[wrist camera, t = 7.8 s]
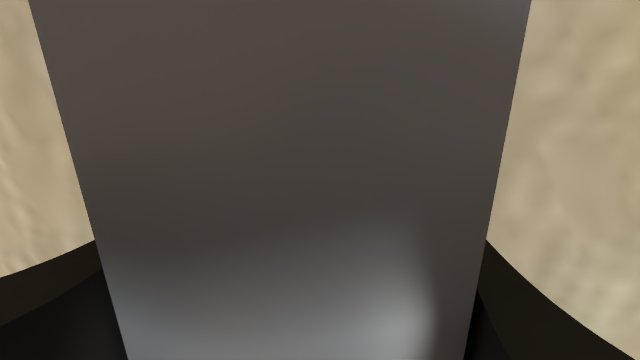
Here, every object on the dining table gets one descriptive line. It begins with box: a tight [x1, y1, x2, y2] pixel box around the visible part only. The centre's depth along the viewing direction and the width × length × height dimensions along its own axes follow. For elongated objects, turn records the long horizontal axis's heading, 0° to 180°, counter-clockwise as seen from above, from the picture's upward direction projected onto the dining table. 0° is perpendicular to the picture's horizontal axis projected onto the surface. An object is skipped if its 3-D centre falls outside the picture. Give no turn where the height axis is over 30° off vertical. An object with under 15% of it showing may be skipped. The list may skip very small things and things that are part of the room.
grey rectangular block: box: [28, 0, 531, 360], centre depth 10 cm, size 6×12×6 cm, turn 0°
